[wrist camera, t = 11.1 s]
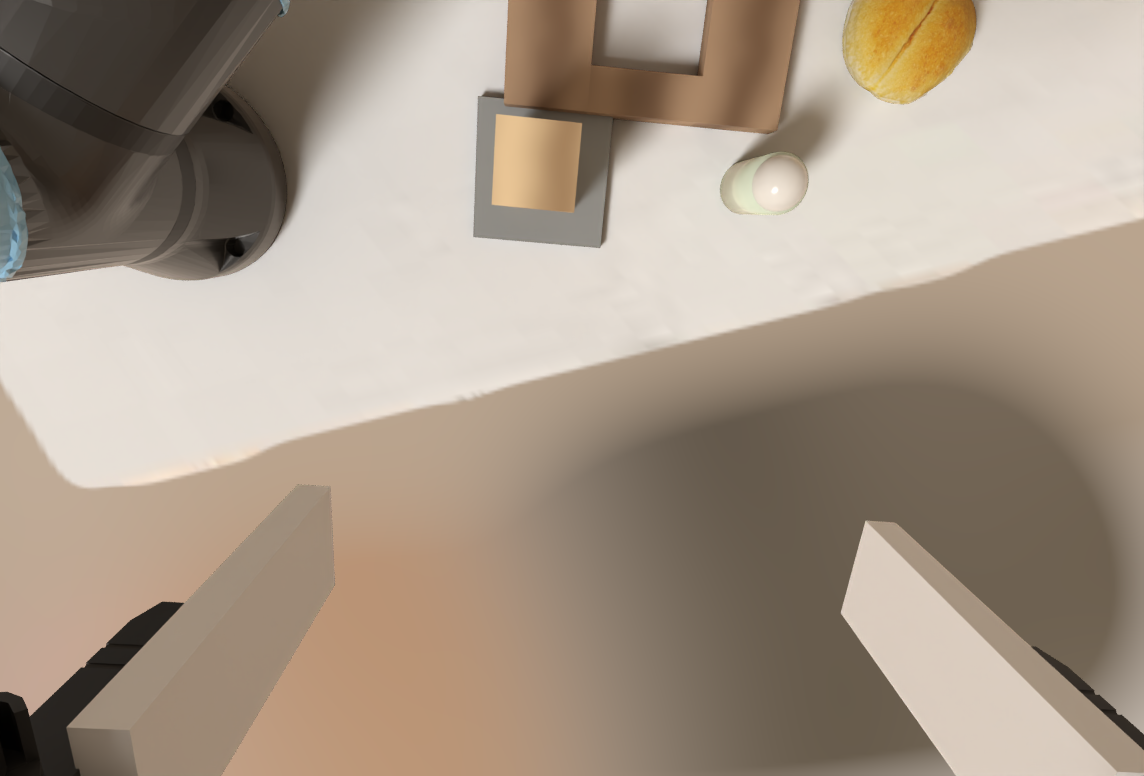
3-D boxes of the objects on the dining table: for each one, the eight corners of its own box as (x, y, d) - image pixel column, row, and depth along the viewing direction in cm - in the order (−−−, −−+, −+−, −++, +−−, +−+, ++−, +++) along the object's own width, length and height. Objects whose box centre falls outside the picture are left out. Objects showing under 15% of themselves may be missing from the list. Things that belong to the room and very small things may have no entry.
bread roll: (888, -57, 40) (924, -85, 36) (975, 27, 42) (1017, 8, 38) (811, 51, 42) (836, 35, 38) (897, 127, 44) (930, 118, 40)
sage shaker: (716, 212, 45) (752, 212, 37) (724, 158, 44) (764, 145, 35) (765, 216, 45) (813, 217, 37) (775, 162, 44) (826, 151, 36)
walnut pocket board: (506, 108, 42) (503, 103, 40) (516, -119, 38) (514, -137, 36) (767, 134, 43) (777, 130, 41) (805, -85, 39) (817, -100, 37)
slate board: (474, 236, 45) (473, 236, 44) (479, 98, 42) (478, 96, 41) (599, 247, 46) (600, 248, 45) (612, 111, 43) (613, 109, 42)
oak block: (505, 206, 44) (491, 204, 34) (509, 136, 42) (495, 114, 33) (570, 212, 44) (574, 212, 34) (576, 143, 42) (582, 123, 33)
